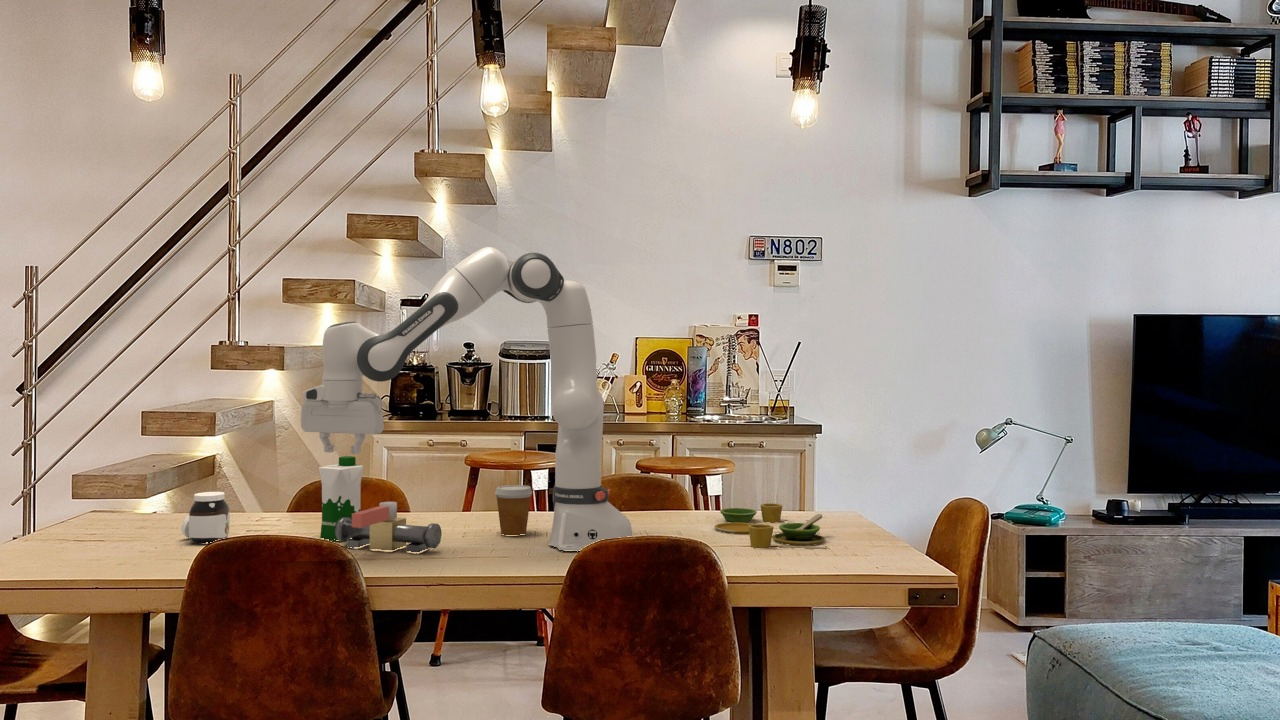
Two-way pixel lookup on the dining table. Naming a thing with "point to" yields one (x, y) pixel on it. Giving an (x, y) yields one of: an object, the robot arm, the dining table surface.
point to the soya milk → (339, 493)
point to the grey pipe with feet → (389, 535)
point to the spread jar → (207, 518)
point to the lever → (375, 514)
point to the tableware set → (771, 527)
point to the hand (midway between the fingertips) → (342, 452)
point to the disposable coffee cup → (513, 508)
